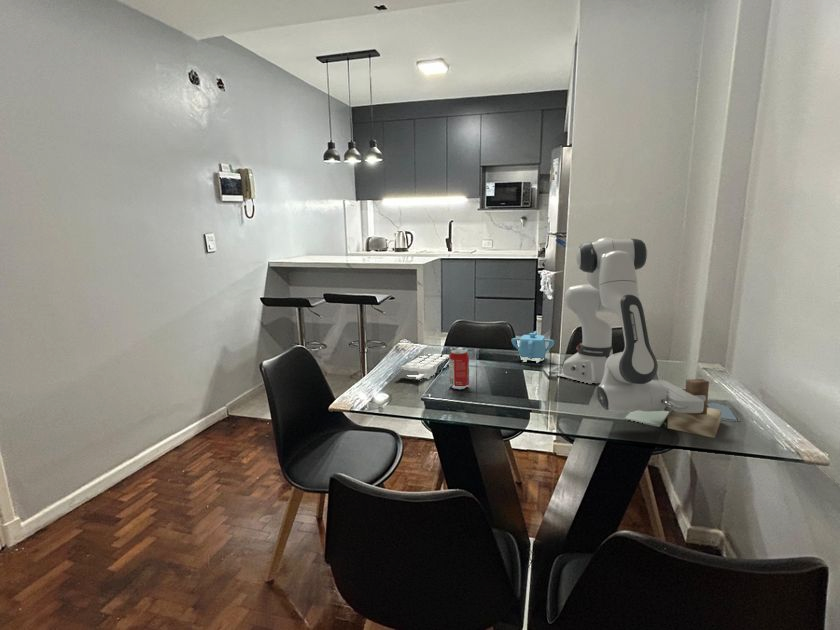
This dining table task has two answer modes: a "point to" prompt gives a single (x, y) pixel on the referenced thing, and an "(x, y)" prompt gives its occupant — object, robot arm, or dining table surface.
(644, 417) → the rubber mat
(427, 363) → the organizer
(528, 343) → the teapot
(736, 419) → the smartphone
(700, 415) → the birch block
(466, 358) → the soda can
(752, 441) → the dining table surface
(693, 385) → the brown wooden upright block
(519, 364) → the dining table surface
